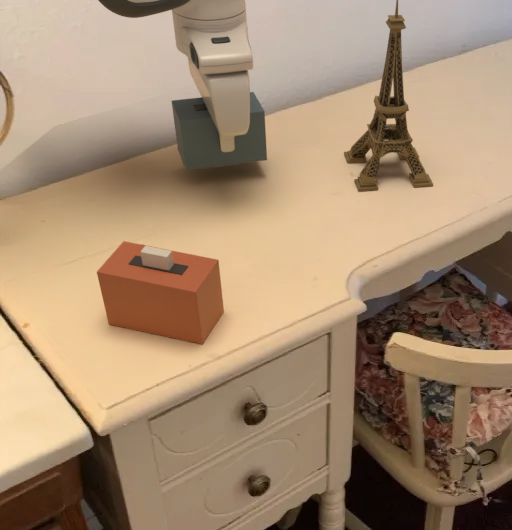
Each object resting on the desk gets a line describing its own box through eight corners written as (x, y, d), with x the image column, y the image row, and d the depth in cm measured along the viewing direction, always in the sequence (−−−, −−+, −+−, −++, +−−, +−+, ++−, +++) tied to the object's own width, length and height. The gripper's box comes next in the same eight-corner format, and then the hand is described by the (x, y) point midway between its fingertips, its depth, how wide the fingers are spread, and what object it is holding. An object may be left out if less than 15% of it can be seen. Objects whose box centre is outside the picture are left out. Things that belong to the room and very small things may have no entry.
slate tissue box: (186, 170, 110) (177, 107, 104) (177, 149, 114) (169, 87, 108) (267, 160, 113) (263, 97, 107) (256, 139, 117) (252, 78, 111)
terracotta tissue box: (108, 324, 91) (92, 257, 85) (133, 292, 95) (120, 226, 89) (202, 344, 89) (193, 277, 83) (224, 311, 93) (217, 245, 87)
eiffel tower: (414, 149, 123) (429, -33, 105) (433, 186, 115) (452, -4, 98) (343, 153, 121) (347, -32, 103) (358, 191, 113) (364, -2, 96)
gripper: (170, 3, 108) (182, 106, 118) (202, 66, 95) (213, 176, 104) (218, 0, 110) (226, 101, 120) (256, 61, 97) (262, 169, 106)
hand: (220, 136), depth 112 cm, fingers closed on slate tissue box, 6 cm apart
